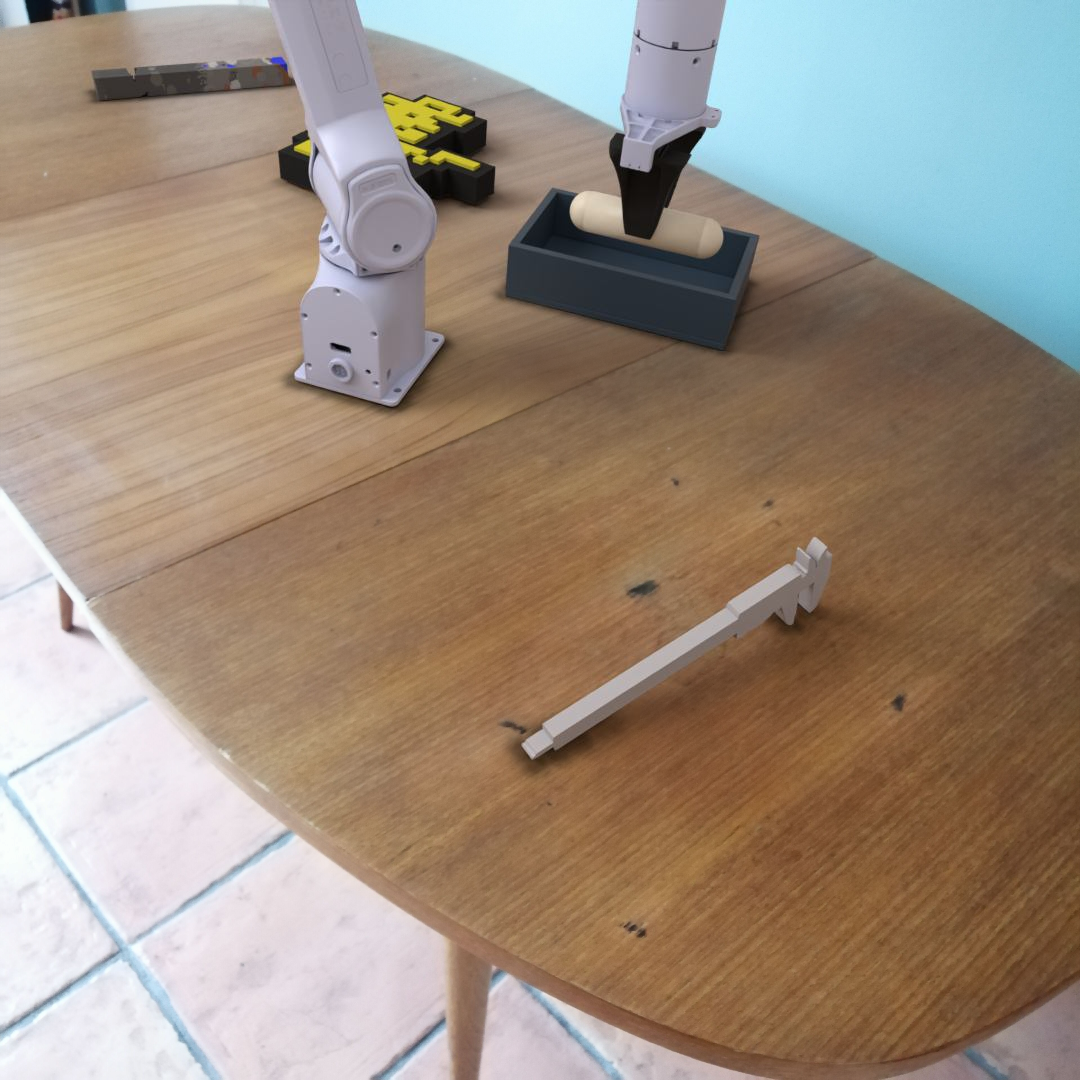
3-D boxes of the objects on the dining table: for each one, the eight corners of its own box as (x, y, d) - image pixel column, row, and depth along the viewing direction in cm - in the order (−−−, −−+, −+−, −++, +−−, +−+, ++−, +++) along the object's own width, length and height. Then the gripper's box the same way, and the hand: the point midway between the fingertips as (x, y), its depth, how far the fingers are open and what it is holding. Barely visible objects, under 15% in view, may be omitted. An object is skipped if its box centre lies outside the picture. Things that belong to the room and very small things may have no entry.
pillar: (91, 70, 103) (284, 56, 110) (95, 92, 104) (286, 76, 112) (94, 78, 102) (290, 63, 109) (99, 100, 103) (291, 84, 110)
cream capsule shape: (714, 269, 75) (722, 232, 73) (562, 233, 78) (566, 196, 75) (722, 252, 78) (730, 215, 75) (574, 216, 80) (578, 180, 78)
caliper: (801, 601, 61) (831, 526, 56) (814, 613, 60) (845, 538, 56) (520, 748, 52) (530, 672, 47) (532, 764, 51) (543, 688, 47)
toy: (268, 144, 92) (399, 83, 105) (272, 178, 94) (399, 114, 107) (430, 203, 86) (547, 131, 99) (429, 238, 89) (544, 163, 101)
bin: (723, 350, 80) (735, 299, 77) (504, 296, 83) (508, 244, 80) (747, 283, 88) (759, 234, 84) (547, 235, 91) (552, 187, 88)
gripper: (712, 83, 61) (673, 282, 71) (753, 16, 71) (714, 198, 81) (601, 60, 63) (578, 258, 72) (657, -3, 73) (630, 178, 82)
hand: (644, 225), depth 77 cm, fingers closed on cream capsule shape, 3 cm apart
